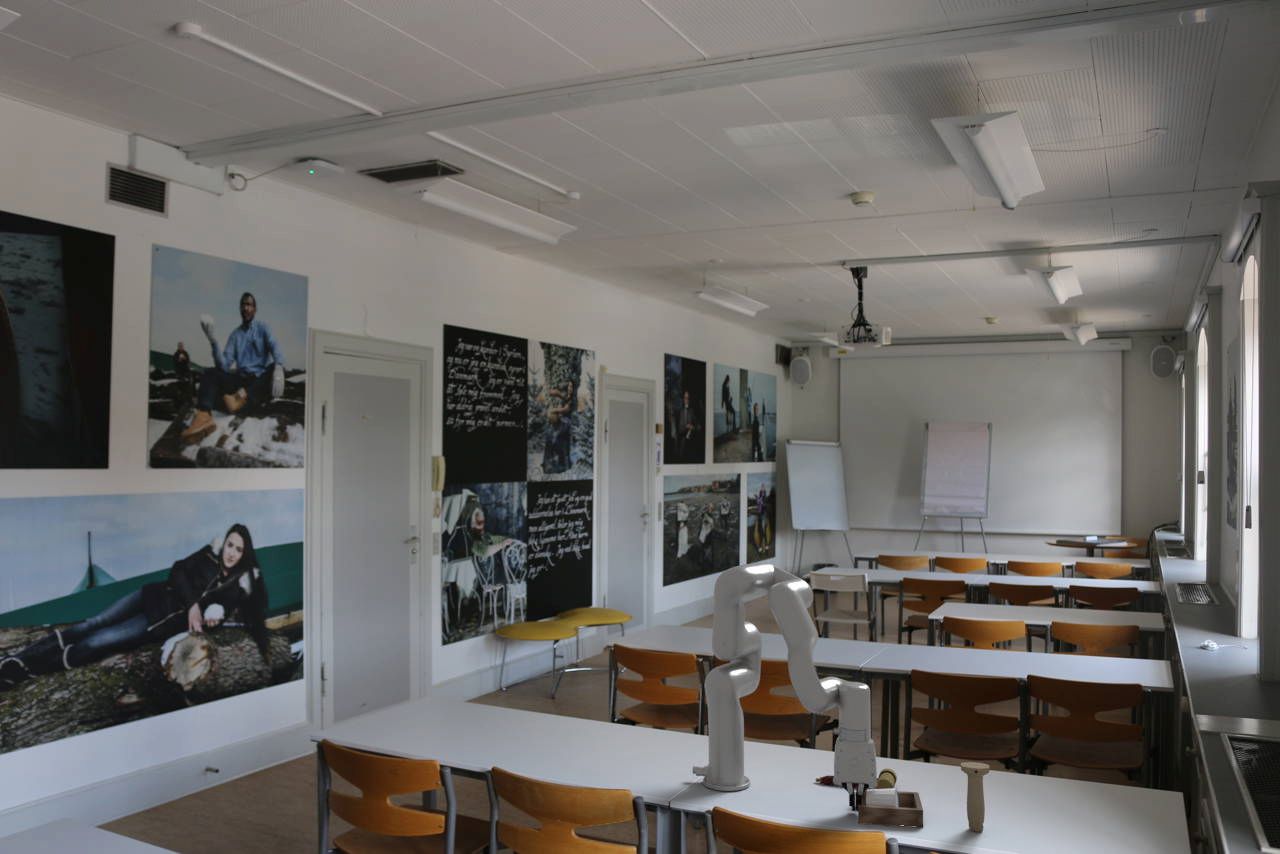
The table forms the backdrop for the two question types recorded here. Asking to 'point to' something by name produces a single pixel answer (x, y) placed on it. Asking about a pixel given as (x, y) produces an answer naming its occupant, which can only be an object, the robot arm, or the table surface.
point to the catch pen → (893, 811)
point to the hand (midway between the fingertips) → (855, 809)
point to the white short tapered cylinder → (882, 797)
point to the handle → (975, 793)
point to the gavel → (884, 781)
